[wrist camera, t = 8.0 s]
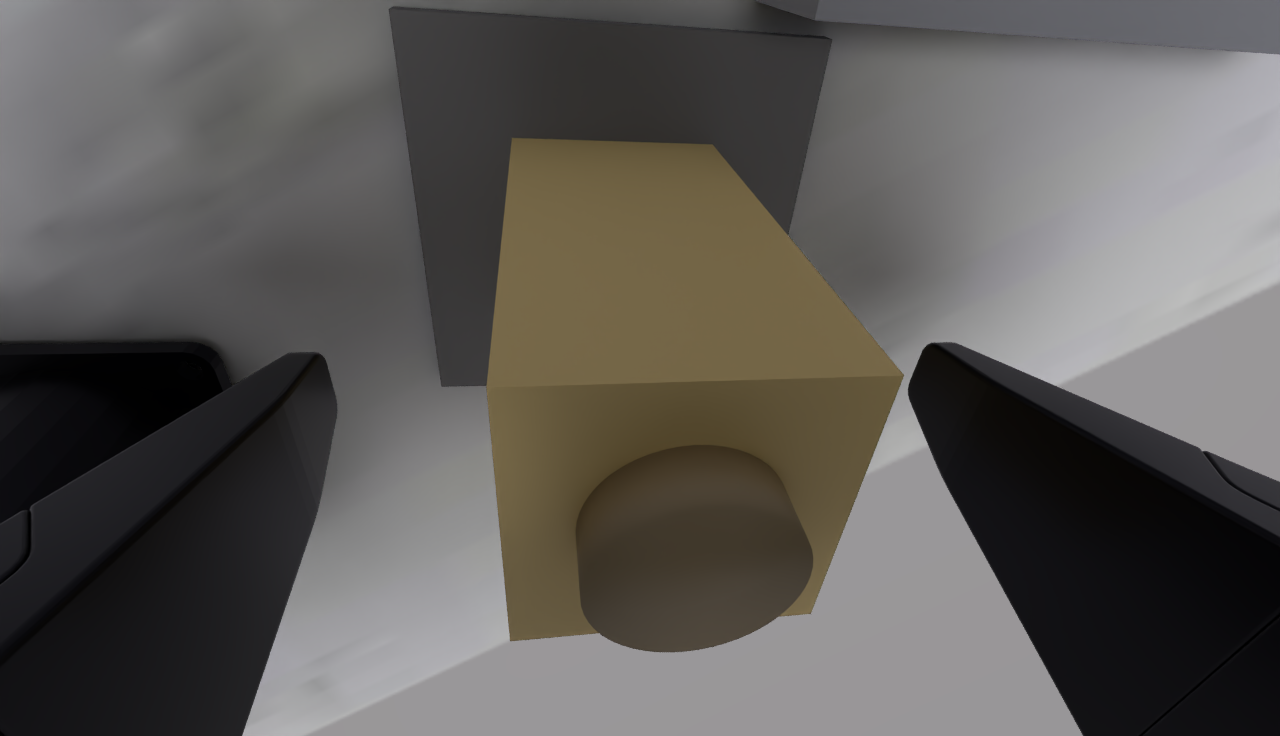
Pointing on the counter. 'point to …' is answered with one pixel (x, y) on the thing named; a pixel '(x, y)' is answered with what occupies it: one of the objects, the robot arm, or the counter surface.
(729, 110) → the pad
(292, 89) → the counter surface
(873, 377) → the plug
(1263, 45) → the socket block
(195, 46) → the counter surface
